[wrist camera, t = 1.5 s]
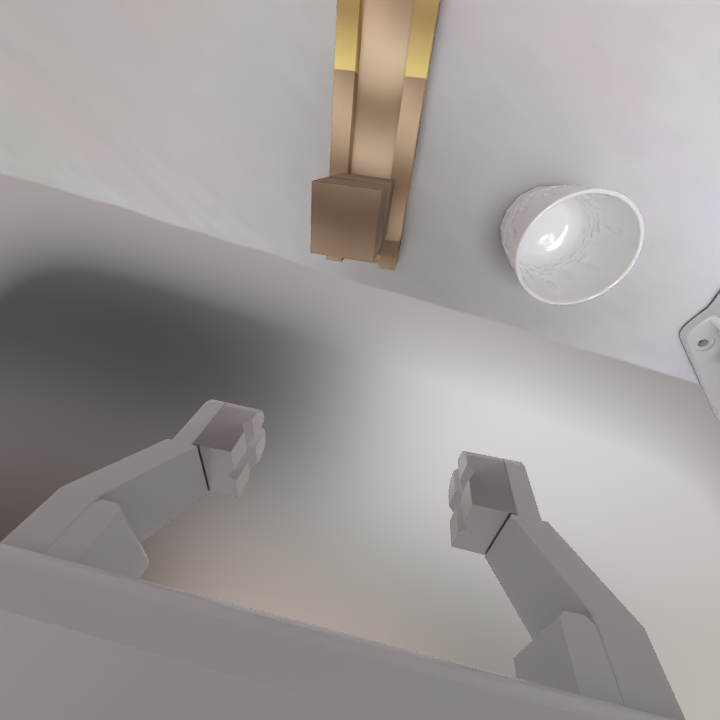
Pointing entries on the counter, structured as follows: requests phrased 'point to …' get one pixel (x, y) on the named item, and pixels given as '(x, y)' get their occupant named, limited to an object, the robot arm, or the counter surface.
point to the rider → (350, 215)
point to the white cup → (571, 241)
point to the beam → (381, 97)
